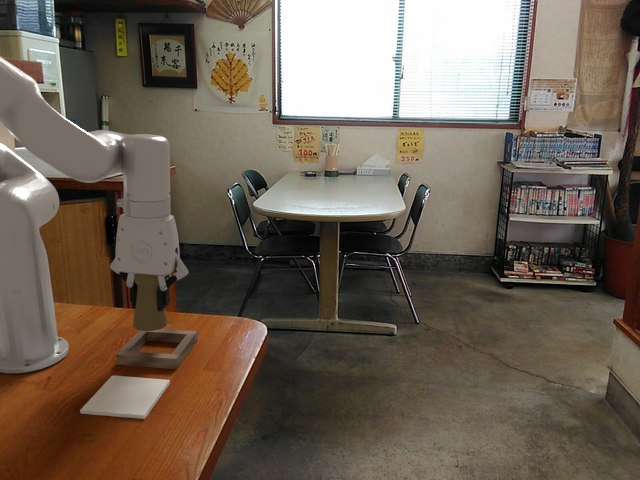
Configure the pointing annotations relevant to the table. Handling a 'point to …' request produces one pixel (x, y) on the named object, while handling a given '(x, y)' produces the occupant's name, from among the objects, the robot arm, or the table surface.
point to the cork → (148, 304)
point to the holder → (157, 360)
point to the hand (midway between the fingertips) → (150, 306)
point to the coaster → (126, 397)
